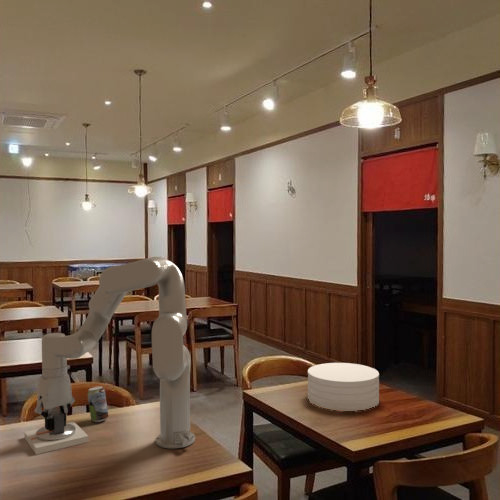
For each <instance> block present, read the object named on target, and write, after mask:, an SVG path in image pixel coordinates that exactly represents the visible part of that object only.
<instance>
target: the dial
mask: <svg viewBox="0 0 500 500" xmlns="http://www.w3.org/2000/svg"><path fill="white" fill-rule="evenodd" d="M51 418H52V419H53V430H52V431H49V430H47V429H46V428H45V426H43V427H41V428H38V429H39V430H37V432H36V437H37V438H38V439H40V440H46V441H52V440H59V439H64V438H67V437H69V436H71V435H73V434H74V433H75V426H74V425H72V424H66V426H64V414H63V413H62V412H61V411H60V408H59V407H56V408H53V409H52V414H51Z"/></svg>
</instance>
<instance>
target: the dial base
mask: <svg viewBox="0 0 500 500" xmlns="http://www.w3.org/2000/svg"><path fill="white" fill-rule="evenodd" d="M66 424H72V425H74V426H75V433H74V434H73V435H71V436H69V437H67V438H64V439H59V440H52V441H46V440H40V439H38V438H37V437H36V432H37V430H39V429H40V428H36V429H31V430H26V431H24V432H23V433H24V439H25V440H26V442H27V443H28V444H29V447H30V448H31V449H32V451H33V452H34V453H35V455H39V454H43V453H48V452H53V451H56V450H62V449H64V448H65V449H66V448H69V447H70V448H71V447H73V446H79V445H82V444H86V443H89V435H88V434H87V433H86V432H85V431H84V430H83V429H82V428H81V427H80V426H79V425H78V424H77V423H76V422H75V421H68V422H66Z"/></svg>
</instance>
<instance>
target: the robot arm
mask: <svg viewBox="0 0 500 500" xmlns="http://www.w3.org/2000/svg"><path fill="white" fill-rule="evenodd" d="M98 284H99V286H98V288H97V289H96V291H95V293H94V294H92V297H91V299H90V300H89V302H88V309H89V312H88V315H87V316H86V318H85V320H84V321H83V324H82V325H81V326H80V328H79V329H78V330H77V331H76V332H74V333H72V334H70V335H66V334H65V333H62V332H51V333H47V334H45V335H43V336H42V338H41V369H42V371H41V372H42V373H41V375H42V376H41V377H40V378H39V381H38V384H37V385H38V386H37V393H36V394H37V395H36V398H37V399H36V401H37V402H36V406H35V409H34V410H33V412H34V413H36V414H39V415H40V416H42V417H43V418H44V427H45V428H46V429H47V430H49V431H52V430H53V419H52V418H51V414H52V409H53V408H58V409H59V410H60V411H61V412H62V413H63V414H64V426H66V423H67V414H69V413H68V412H69V410H70V408H71V407H72V405H73V404H74V403H75V402H76V398H75V397H74V396H73V393H72V383H71V379H70V375H69V373H68V370H70V368H71V365H70V364H67V363H68V359H69V360H70V359H71V360H72V359H78V358H81V357H83V356H84V355H85V354H86V353H88V352H90V351H92V349H94V348H95V346H96V345H97V343H98V342H99V340H100V339H101V337H102V336H103V334H104V333H105V331H106V329H107V327H108V325H109V323H110V322H111V319H112V317H113V315H114V314H115V312H116V310H117V309H118V308H119V306H120V304H121V303H122V301H123V300H124V298H125V297H126V295H127V293H129V292H132V291H136V290H141V289H145V288H149V287H153V286H156V285H157V286H158V317H157V318H156V319H155V320H154V322H153V324H152V328H151V354H152V357H151V358H152V368H153V371H154V374H155V375H156V377H158V378H159V414H160V415H159V417H160V418H159V419H160V421H159V423H160V424H159V425H160V426H159V427H160V430H159V431H160V433H159V434H158V435H157V436H156V437H155V444H156V445H157V446H158V447H160V448H164V449H173V450H174V449H175V450H176V449H182V448H185V447H188V446H191V445H192V444H194V443H195V441H196V435H195V434H194V433H193V432H191V397H190V396H191V390H190V388H191V364H192V361H191V353H190V351H189V349H188V347H186V346H185V345H184V335H185V334H186V332H187V329H188V321H187V305H186V304H187V303H186V302H187V301H186V289H185V288H186V287H185V281H184V277H183V274H182V272H181V270H180V268H179V267H178V265H176V264H175V263H174V262H172V261H171V260H169V259H166V258H164V257H161V256H152V257H148V258H144V259H140V260H136V261H132V262H128V263H124V264H120V265H115V266H114V265H113V266H110V267H107V268H105V269H104V270H103V271H102V272H101V274H100V275H99V279H98ZM42 409H43V410H42Z"/></svg>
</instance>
